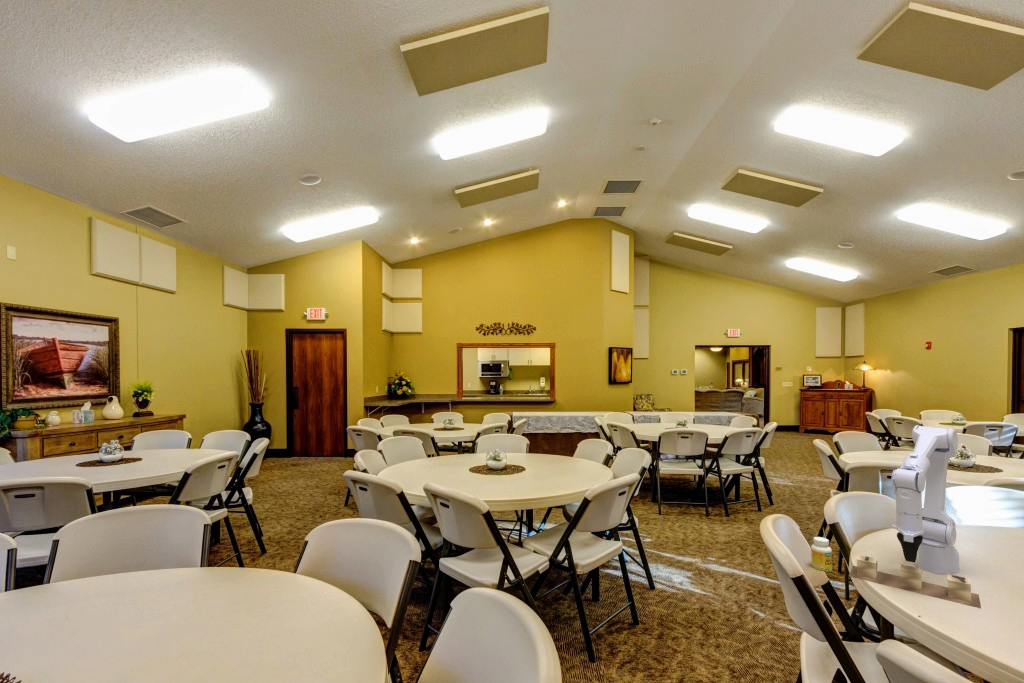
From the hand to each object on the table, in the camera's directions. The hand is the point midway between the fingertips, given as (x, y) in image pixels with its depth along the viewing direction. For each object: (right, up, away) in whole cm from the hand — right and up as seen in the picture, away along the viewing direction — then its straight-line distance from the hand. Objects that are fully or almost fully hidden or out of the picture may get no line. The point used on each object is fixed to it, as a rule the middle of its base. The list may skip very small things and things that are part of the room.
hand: (910, 561), depth 137 cm
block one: (-7, -7, +6) cm, 12 cm away
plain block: (0, -7, 0) cm, 7 cm away
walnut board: (0, -8, 0) cm, 8 cm away
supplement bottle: (-18, -8, +11) cm, 23 cm away
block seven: (+8, -6, -7) cm, 12 cm away
